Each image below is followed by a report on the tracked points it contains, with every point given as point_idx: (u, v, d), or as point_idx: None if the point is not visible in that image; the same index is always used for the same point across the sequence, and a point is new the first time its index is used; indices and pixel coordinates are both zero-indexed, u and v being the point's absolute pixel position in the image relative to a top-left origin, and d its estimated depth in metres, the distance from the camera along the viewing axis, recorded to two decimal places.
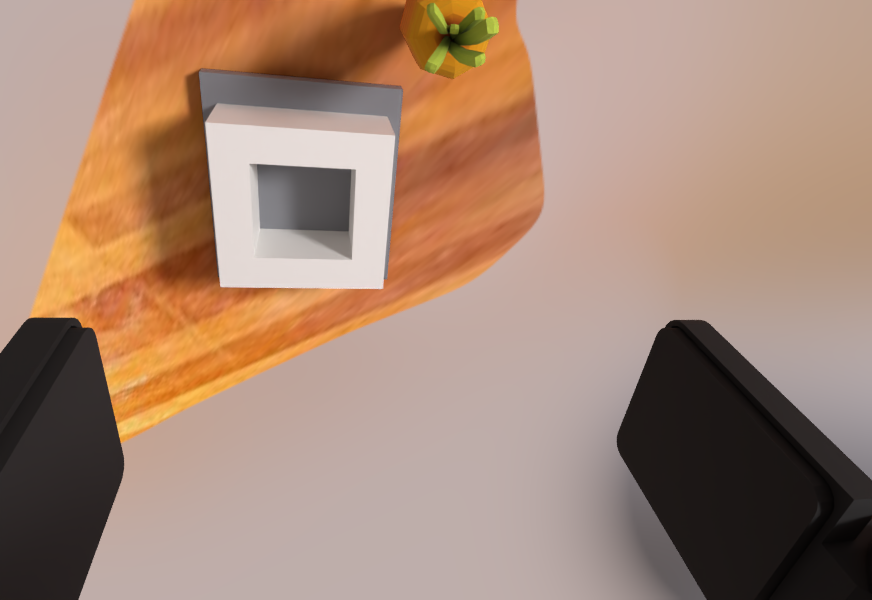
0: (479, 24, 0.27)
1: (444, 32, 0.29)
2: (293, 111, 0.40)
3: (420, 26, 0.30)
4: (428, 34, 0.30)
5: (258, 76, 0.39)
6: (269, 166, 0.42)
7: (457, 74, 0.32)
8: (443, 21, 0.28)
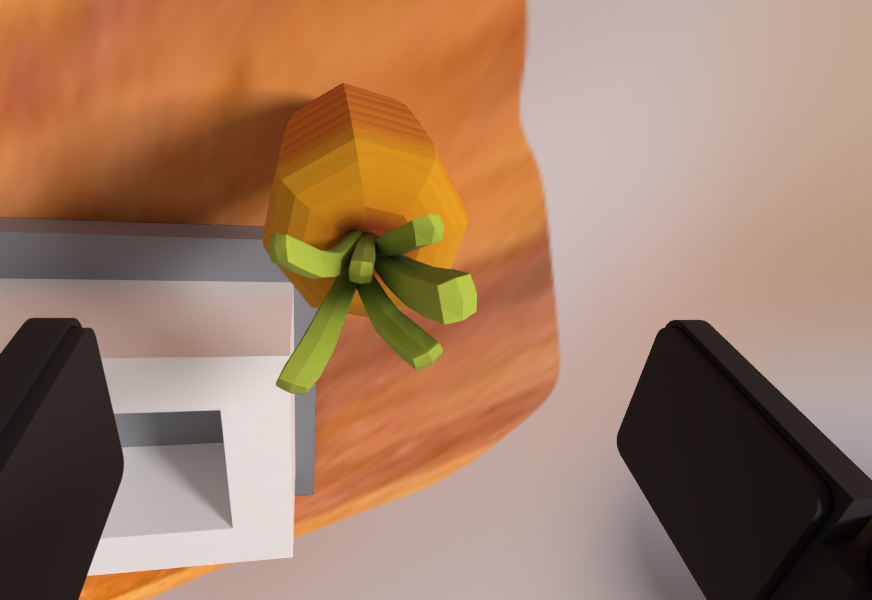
0: (422, 285, 0.10)
1: None
2: (115, 287, 0.22)
3: (288, 232, 0.12)
4: None
5: (42, 230, 0.21)
6: None
7: None
8: (323, 268, 0.10)
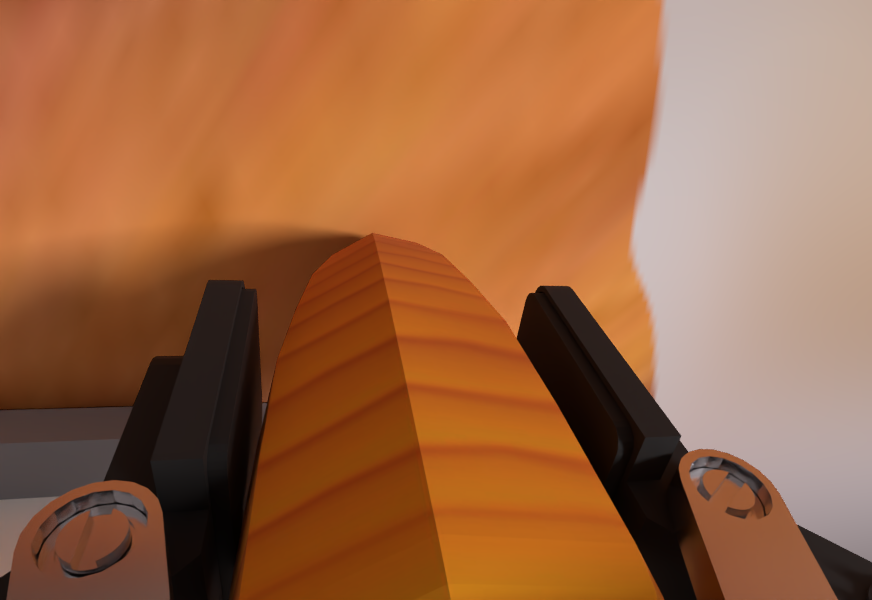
0: None
1: None
2: (16, 515, 0.14)
3: None
4: None
5: None
6: None
7: None
8: None
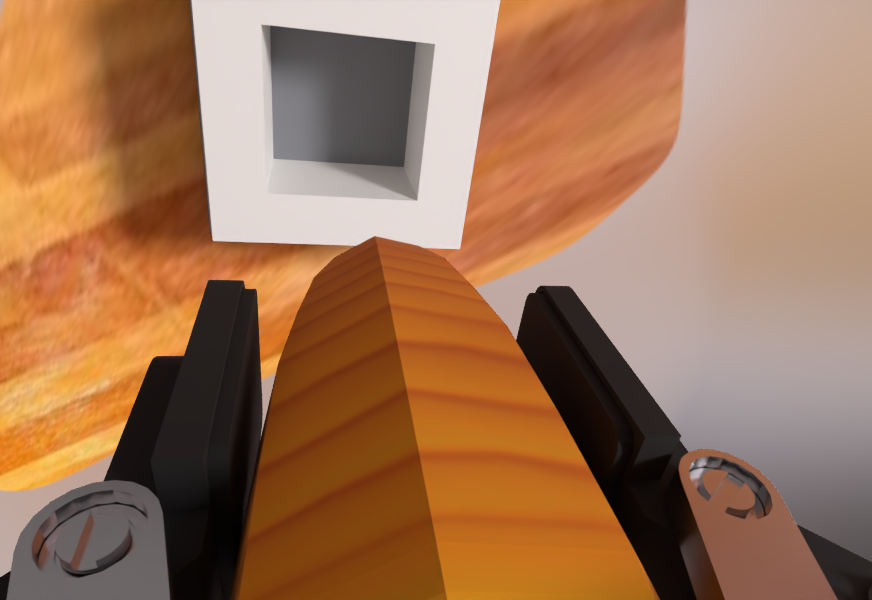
0: None
1: None
2: None
3: None
4: None
5: None
6: (290, 56, 0.27)
7: None
8: None
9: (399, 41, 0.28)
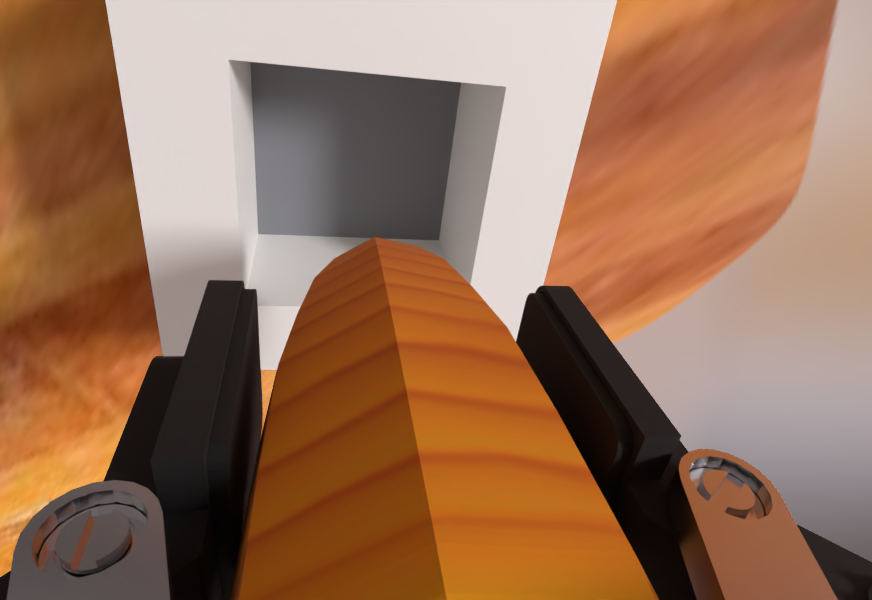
0: None
1: None
2: None
3: None
4: None
5: None
6: (279, 95, 0.19)
7: None
8: None
9: None
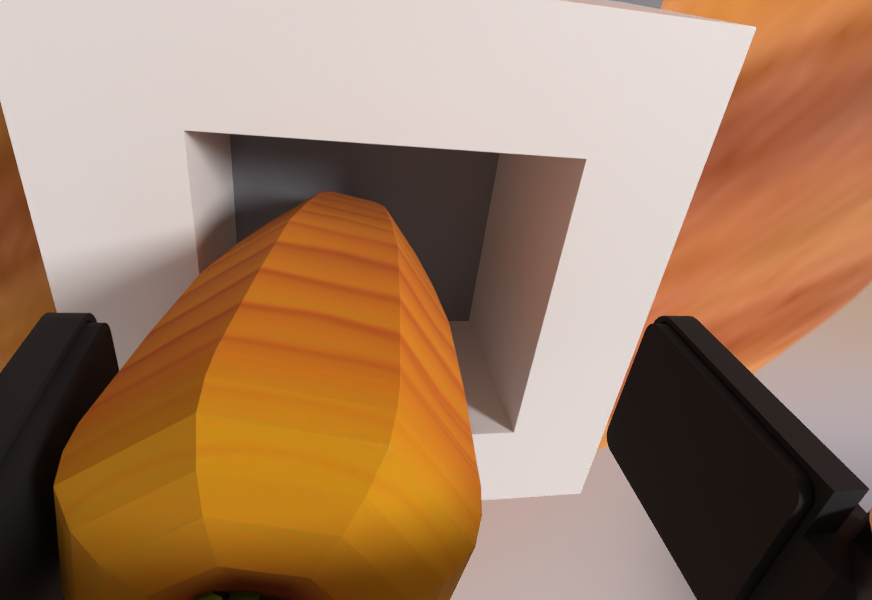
0: None
1: None
2: None
3: (75, 586, 0.06)
4: None
5: None
6: (268, 152, 0.14)
7: None
8: None
9: None
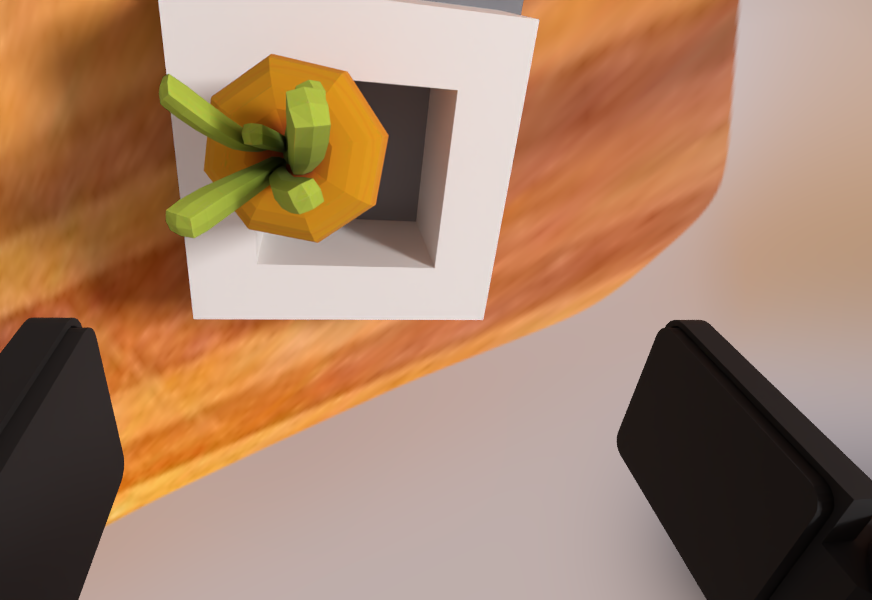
0: (285, 111, 0.11)
1: (236, 145, 0.12)
2: None
3: (216, 143, 0.14)
4: (232, 157, 0.14)
5: None
6: None
7: (319, 232, 0.15)
8: (210, 117, 0.11)
9: None
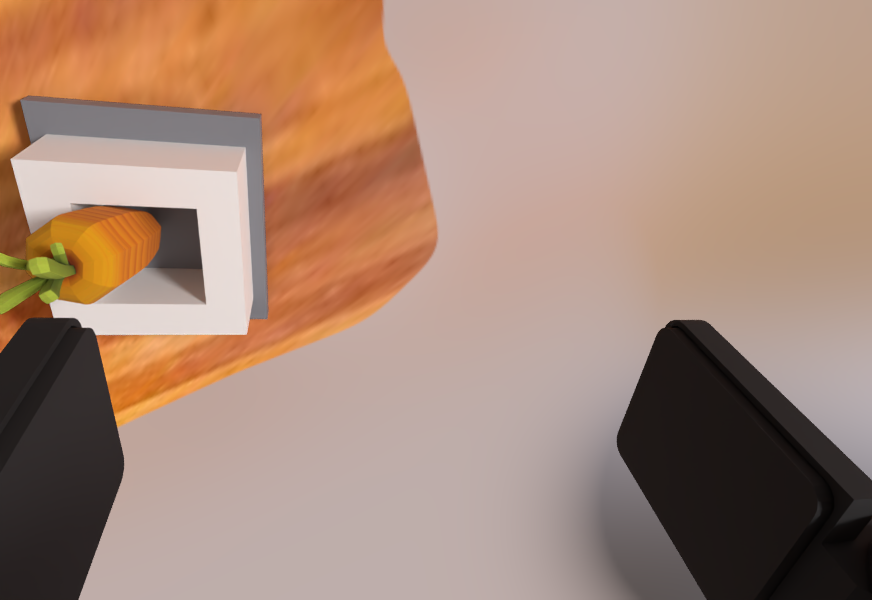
0: None
1: (26, 269, 0.27)
2: (134, 142, 0.36)
3: (28, 260, 0.29)
4: None
5: (91, 104, 0.35)
6: None
7: (86, 300, 0.30)
8: (8, 262, 0.26)
9: None
